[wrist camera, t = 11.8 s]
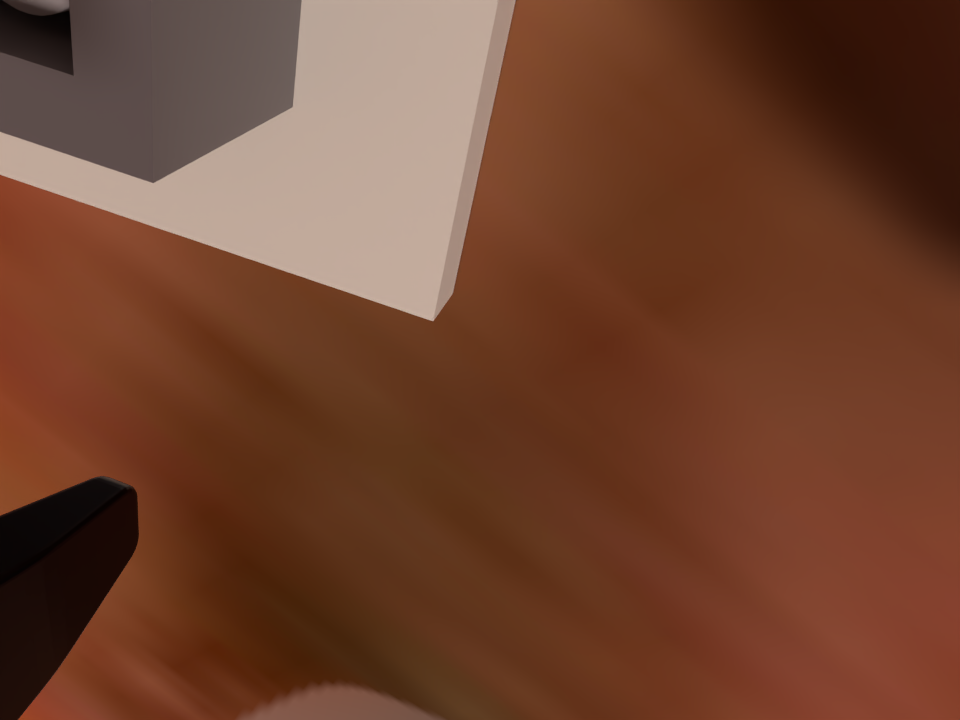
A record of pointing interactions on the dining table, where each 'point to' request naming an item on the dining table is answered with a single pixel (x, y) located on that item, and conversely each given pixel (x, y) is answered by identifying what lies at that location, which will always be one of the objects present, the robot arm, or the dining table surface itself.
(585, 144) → the dining table surface
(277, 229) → the base plate
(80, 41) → the grey box housing
